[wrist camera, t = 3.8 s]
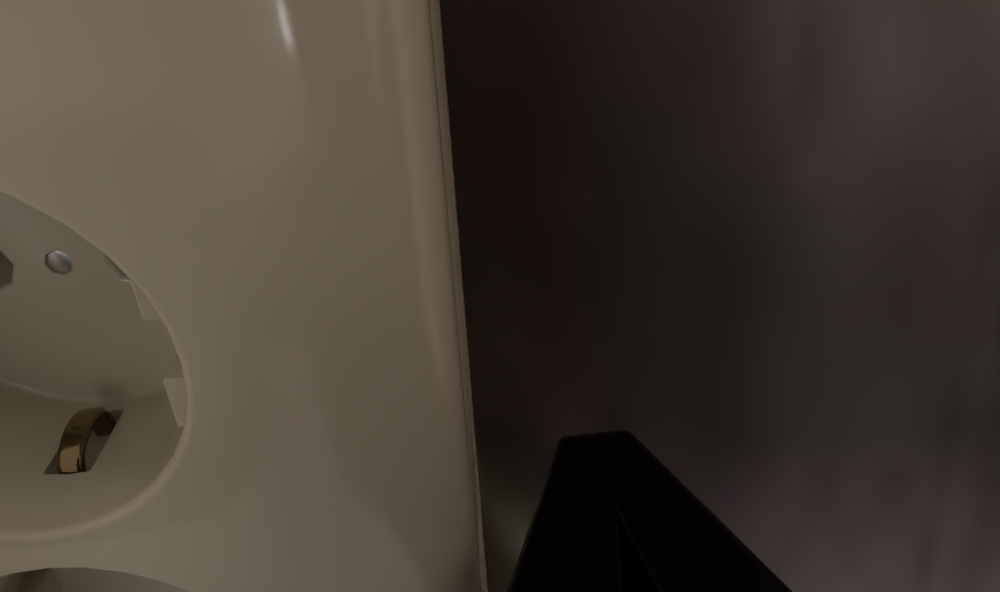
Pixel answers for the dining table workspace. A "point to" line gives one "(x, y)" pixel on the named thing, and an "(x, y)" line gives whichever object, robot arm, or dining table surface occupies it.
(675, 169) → the dining table surface
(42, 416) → the electrical outlet
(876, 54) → the dining table surface
